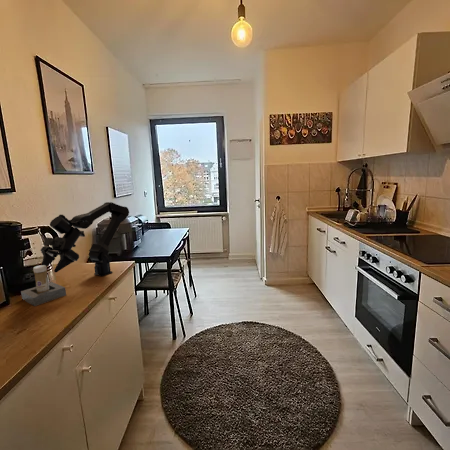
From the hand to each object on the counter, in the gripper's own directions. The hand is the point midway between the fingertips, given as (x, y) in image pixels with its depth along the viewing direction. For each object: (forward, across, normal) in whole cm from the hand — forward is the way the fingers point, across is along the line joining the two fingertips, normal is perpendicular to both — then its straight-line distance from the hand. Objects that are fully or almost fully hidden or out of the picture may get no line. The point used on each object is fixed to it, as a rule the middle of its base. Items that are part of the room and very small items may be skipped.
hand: (48, 270), depth 120 cm
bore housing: (+10, 0, +5) cm, 11 cm away
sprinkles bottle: (+10, 0, +6) cm, 11 cm away
